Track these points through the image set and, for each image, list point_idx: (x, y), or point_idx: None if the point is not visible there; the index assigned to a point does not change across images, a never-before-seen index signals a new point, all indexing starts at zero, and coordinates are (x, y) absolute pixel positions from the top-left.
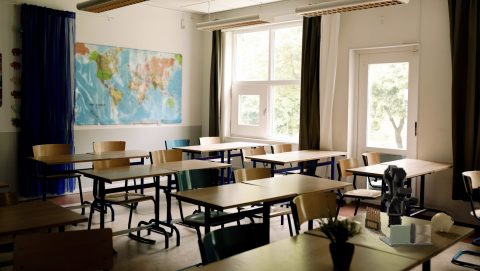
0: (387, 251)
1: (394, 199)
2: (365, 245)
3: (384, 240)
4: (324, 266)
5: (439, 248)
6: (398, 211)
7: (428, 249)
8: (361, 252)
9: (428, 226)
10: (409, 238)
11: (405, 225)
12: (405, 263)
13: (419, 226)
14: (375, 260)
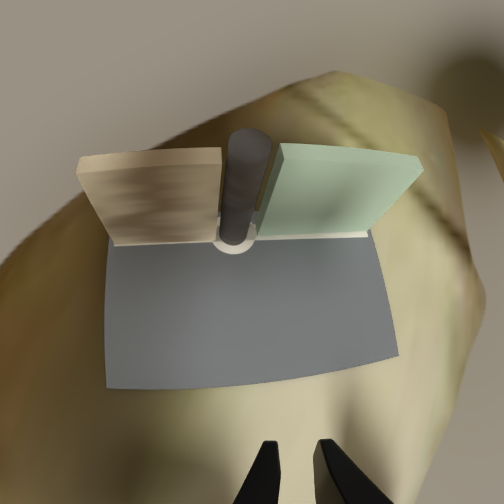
0: None
1: None
2: (450, 241)
3: (381, 295)
4: (482, 128)
5: None
6: (345, 466)
7: None
8: (450, 174)
9: (103, 160)
10: (261, 206)
11: (321, 145)
12: (334, 79)
13: (187, 152)
14: (409, 115)
